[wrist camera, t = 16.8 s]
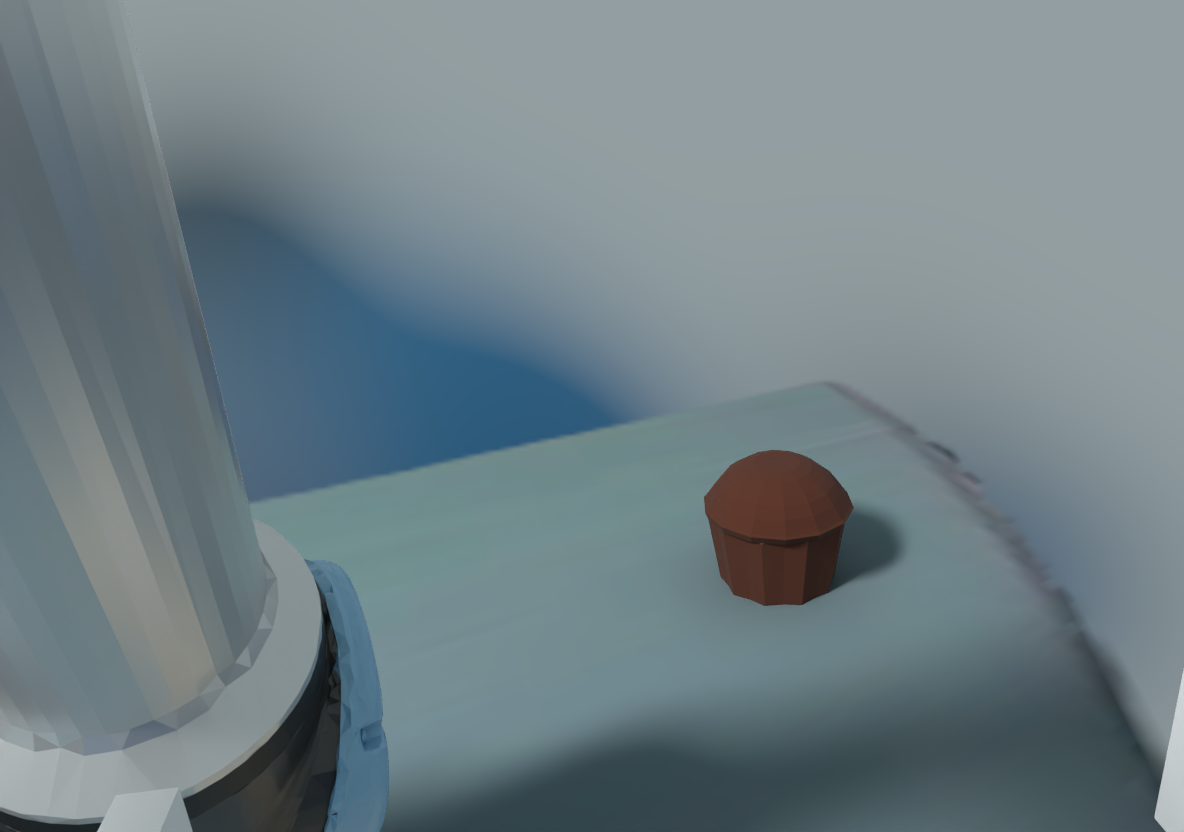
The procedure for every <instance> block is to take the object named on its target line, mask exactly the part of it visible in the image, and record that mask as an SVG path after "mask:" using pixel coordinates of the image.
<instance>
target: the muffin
mask: <svg viewBox="0 0 1184 832" xmlns="http://www.w3.org/2000/svg"><path fill="white" fill-rule="evenodd" d="M704 502H705V513H706V515H707V517H708V519H709V524H710V528H711V533H712V538H713V543H714V547H715V552H716V557H717V561H718V566H719V571H720V575H721V578H722V579H723V580H724V581H725V582H726V583H727V584H728V585H729V587H730V589H731V591H732V592H733V594H734V595H736V596H740V597H743V598H747V599H750V600H753V601H755V602H757V603H760V604H762V605H764V606H768V605H781V604H788V605H803V604H804V603H806V602H808V601H810V600H811V599H813V598H815V597H818V596H820V595H823V594H826V593H828V592H829V588H830V583H831V579H832V578H833V576H834V573H835V568H836V563H837V558H838V553H839V548H840V543H841V538H842V533H843V528H844V523H845V521H846V520H847V518H848V517H849V515H850V513H851V511H852V509H853V505H852V503H851V500H850V498H849V495H848V493H847V492H846V491H845V490H844V488H843V487H842V486H841V484H840V483H839V482H838V481H837V479H836V478H835V477H834V476H833V475H832V474H831V472H830V471H828V470H827V469H825V468H824V467H822V466H821V465H819V464H818V463H816V462H815V461H813V460H812V459H810V458H808V457H806V456H803V455H801V454H797V453H794V452H790V451H780V450H770V451H763V452H757V453H755V454H753V455H750V456H748V457H746V458H743V459H741V460H739V461H737V462H735V463H733V464H732V465H730V467H729V468H728V469H727V470H726V471H725V472H724V473H723V475H722V476H721V477H720V478H719V479H718V481H717V482H716V483H715V484H714V485H713V487H712V488H711V489H710V491H709V492H708V493H707V495H706V496H705V497H704Z"/></svg>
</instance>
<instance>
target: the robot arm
mask: <svg viewBox="0 0 1184 832" xmlns="http://www.w3.org/2000/svg"><path fill="white" fill-rule="evenodd" d="M382 716H383V707H382V694H381V688H380V682H379V676H378V671H377V666H376V661H375V656H374V652H373V647H372V643H371V639H370V635H369V631H368V627H367V624H366V620H365V617H364V614H363V611H362V608H361V605H360V602H359V599H358V596H357V593H356V591H355V589H354V587H353V584H352V582H351V580H350V578H349V577H348V575H347V574H346V572H345V571H344V570H343V569H342V568H341V567H340V566H338V565H337V564H334V563H332V562H330V561H326V560H315V561H309V560H305V559H303V558H302V556H301V555H300V554H299V552H298V551H297V549H296V548H295V547H294V546H293V545H292V544H291V543H290V542H289V541H288V540H287V539H286V538H285V537H284V536H283V535H282V534H280V533H279V532H277V531H275V530H274V529H272V528H271V527H269V526H268V525H266V524H264V523H262V522H260V521H258V520H256V519H254V518H252V515H251V511H250V507H249V503H248V499H247V495H246V491H245V487H244V483H243V479H242V475H241V471H240V467H239V462H238V458H237V454H236V451H235V446H234V442H233V438H232V434H231V430H230V426H229V422H228V418H227V414H226V410H225V406H224V402H223V398H222V394H221V390H220V385H219V382H218V377H217V374H216V369H215V365H214V361H213V357H212V353H211V349H210V345H209V341H208V337H207V333H206V329H205V325H204V321H203V317H202V313H201V309H200V305H199V300H198V297H197V292H196V288H195V285H194V280H193V276H192V272H191V268H190V264H189V260H188V256H187V252H186V248H185V244H184V240H183V236H182V232H181V228H180V224H179V219H178V216H177V211H176V207H175V203H174V199H173V196H172V192H171V187H170V183H169V179H168V175H167V171H166V167H165V163H164V158H163V154H162V150H161V146H160V142H159V139H158V134H157V130H156V126H155V122H154V118H153V114H152V109H151V106H150V101H149V98H148V93H147V89H146V85H145V81H144V77H143V73H142V69H141V65H140V60H139V56H138V52H137V48H136V44H135V40H134V36H133V32H132V28H131V24H130V20H129V16H128V12H127V7H126V3H125V0H0V832H380V830H381V828H382V825H383V822H384V819H385V815H386V810H387V804H388V793H389V760H388V748H387V741H386V737H385V734H384V730H383V728H382V726H381V722H382ZM1154 818H1155V820H1156V821H1157V822H1158V823H1159V824H1160V825H1161V826H1162V828H1163V829H1164V830H1165V831H1166V832H1184V670H1183V675H1182V680H1181V685H1180V690H1179V695H1178V700H1177V705H1176V710H1175V715H1174V720H1173V725H1172V730H1171V735H1170V740H1169V745H1168V750H1167V756H1166V761H1165V766H1164V771H1163V776H1162V781H1161V786H1160V791H1159V796H1158V801H1157V806H1156V811H1155V816H1154Z"/></svg>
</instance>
